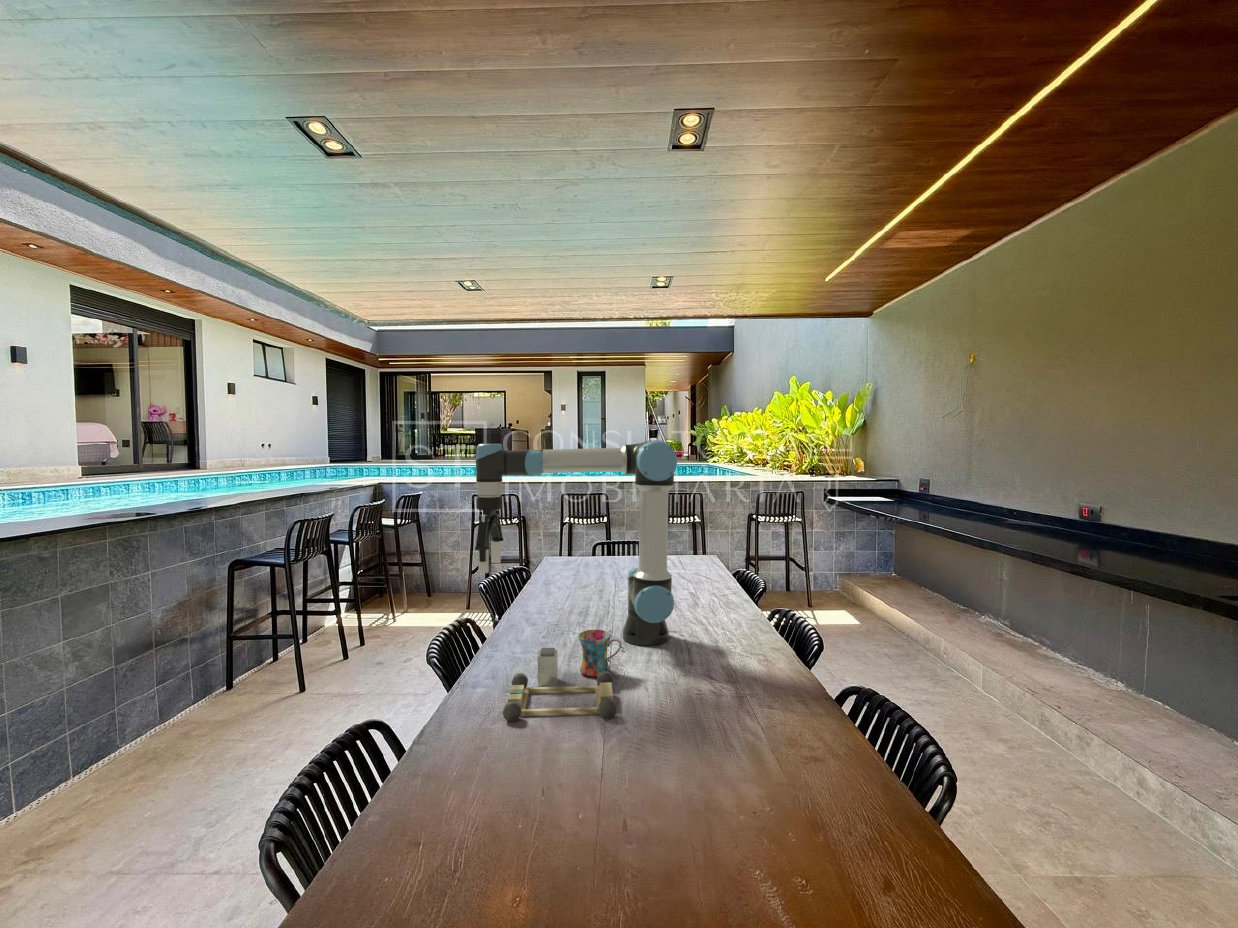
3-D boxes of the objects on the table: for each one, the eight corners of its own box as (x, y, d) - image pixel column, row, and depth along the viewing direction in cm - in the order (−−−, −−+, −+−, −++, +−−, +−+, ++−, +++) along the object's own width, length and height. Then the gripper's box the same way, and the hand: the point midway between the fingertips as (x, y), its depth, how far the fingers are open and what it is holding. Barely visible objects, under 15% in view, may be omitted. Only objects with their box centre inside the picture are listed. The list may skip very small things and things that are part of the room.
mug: (576, 679, 153) (576, 640, 152) (579, 665, 162) (579, 629, 162) (621, 679, 153) (621, 640, 152) (621, 665, 162) (621, 629, 162)
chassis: (612, 685, 149) (612, 670, 149) (616, 718, 131) (616, 701, 131) (512, 688, 147) (512, 673, 147) (502, 722, 129) (502, 704, 129)
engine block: (557, 678, 153) (557, 646, 153) (557, 686, 148) (556, 653, 148) (539, 679, 153) (539, 647, 153) (537, 687, 148) (537, 653, 148)
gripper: (488, 492, 179) (488, 558, 180) (463, 500, 154) (464, 577, 155) (511, 492, 179) (512, 559, 179) (490, 500, 154) (491, 577, 154)
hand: (490, 567), depth 167 cm, fingers open, 13 cm apart
